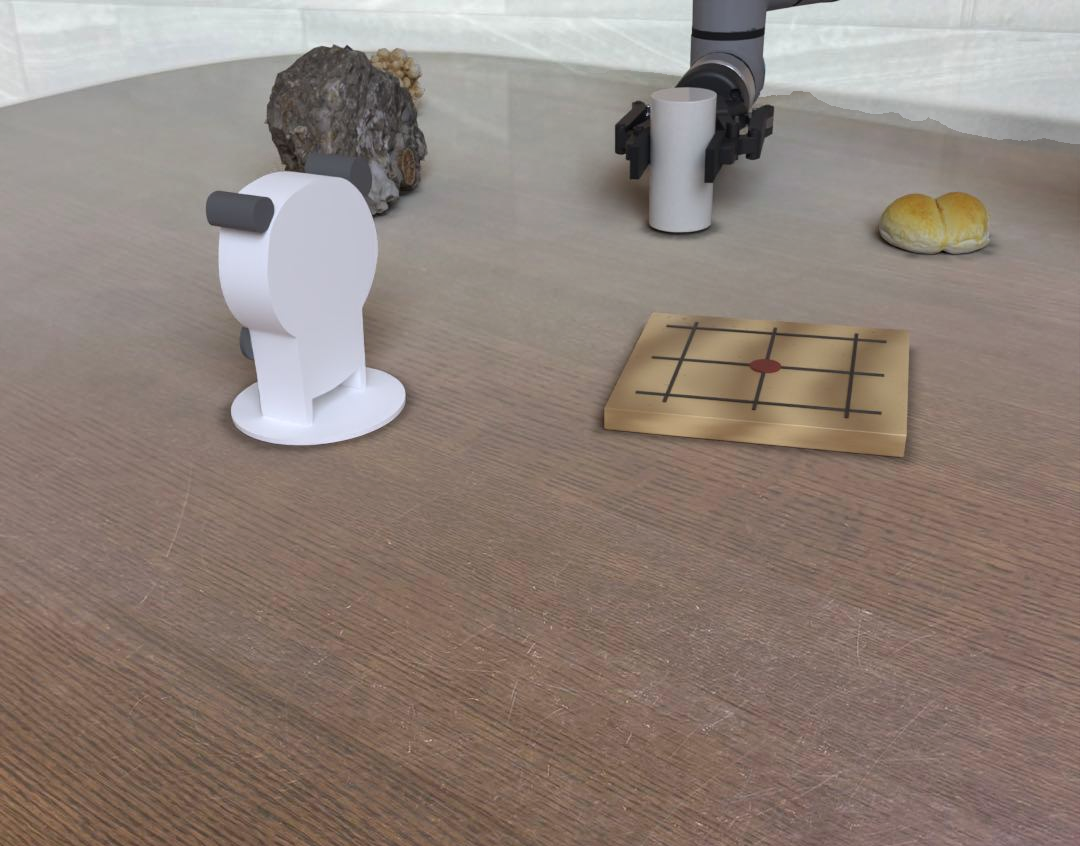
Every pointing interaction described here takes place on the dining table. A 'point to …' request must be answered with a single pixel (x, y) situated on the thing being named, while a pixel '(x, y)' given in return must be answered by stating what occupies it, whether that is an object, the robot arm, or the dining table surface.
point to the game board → (766, 384)
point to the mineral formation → (401, 70)
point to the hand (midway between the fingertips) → (671, 164)
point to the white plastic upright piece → (304, 302)
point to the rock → (348, 119)
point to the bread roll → (936, 223)
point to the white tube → (680, 158)
